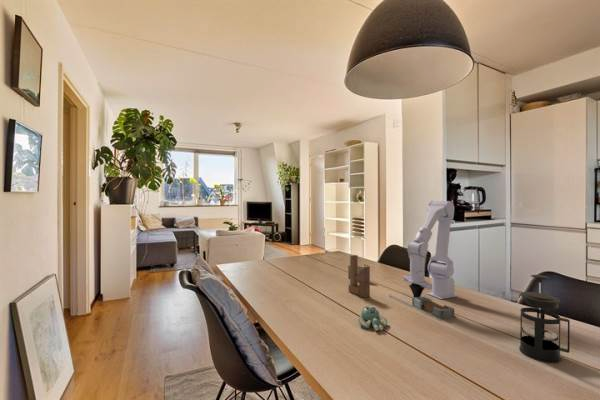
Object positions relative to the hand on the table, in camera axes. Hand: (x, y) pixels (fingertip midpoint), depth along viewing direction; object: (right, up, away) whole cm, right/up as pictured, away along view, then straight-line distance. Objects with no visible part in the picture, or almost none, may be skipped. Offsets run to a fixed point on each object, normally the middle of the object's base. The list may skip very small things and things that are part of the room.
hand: (417, 301), depth 124 cm
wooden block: (-22, -1, +13) cm, 26 cm away
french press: (+20, -2, -40) cm, 45 cm away
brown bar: (+4, -1, -9) cm, 10 cm away
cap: (+1, -1, -3) cm, 3 cm away
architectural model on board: (-18, -2, +37) cm, 41 cm away
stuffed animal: (-24, -2, -20) cm, 31 cm away
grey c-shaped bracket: (+5, -1, -13) cm, 14 cm away
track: (0, -1, -1) cm, 2 cm away
